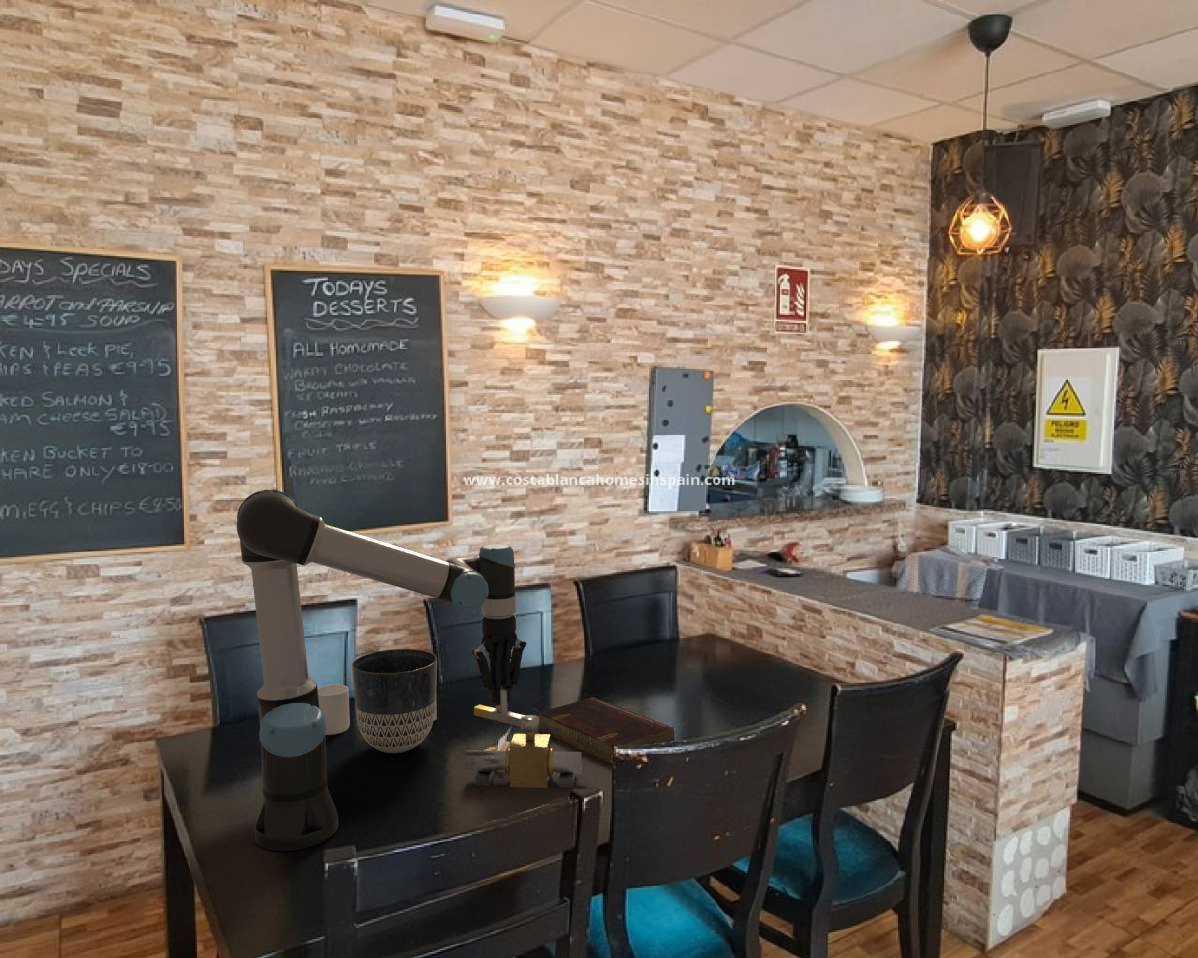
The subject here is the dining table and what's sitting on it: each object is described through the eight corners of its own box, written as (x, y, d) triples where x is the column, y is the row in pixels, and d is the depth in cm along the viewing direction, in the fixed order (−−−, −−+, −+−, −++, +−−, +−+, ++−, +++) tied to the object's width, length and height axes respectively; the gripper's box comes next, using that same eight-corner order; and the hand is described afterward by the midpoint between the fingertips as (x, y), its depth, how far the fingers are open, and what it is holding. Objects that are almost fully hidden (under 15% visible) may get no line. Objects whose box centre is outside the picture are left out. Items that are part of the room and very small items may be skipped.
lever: (543, 726, 187) (542, 717, 187) (531, 732, 183) (531, 723, 183) (482, 711, 196) (482, 702, 196) (471, 716, 193) (470, 708, 192)
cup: (321, 737, 212) (319, 697, 211) (306, 723, 221) (305, 684, 221) (354, 730, 216) (353, 691, 215) (338, 716, 226) (337, 678, 225)
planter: (339, 748, 205) (336, 660, 203) (410, 726, 219) (408, 644, 217) (382, 773, 191) (379, 679, 189) (455, 748, 205) (453, 660, 203)
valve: (580, 788, 183) (579, 735, 182) (463, 786, 184) (462, 734, 183) (582, 774, 190) (582, 723, 189) (470, 772, 191) (469, 721, 190)
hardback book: (674, 745, 207) (674, 725, 206) (616, 768, 194) (616, 746, 194) (594, 713, 228) (594, 695, 228) (538, 731, 216) (538, 712, 215)
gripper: (514, 606, 198) (517, 706, 200) (464, 616, 190) (468, 719, 192) (532, 612, 192) (535, 715, 194) (481, 622, 184) (485, 729, 186)
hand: (501, 717), depth 193 cm, fingers closed
